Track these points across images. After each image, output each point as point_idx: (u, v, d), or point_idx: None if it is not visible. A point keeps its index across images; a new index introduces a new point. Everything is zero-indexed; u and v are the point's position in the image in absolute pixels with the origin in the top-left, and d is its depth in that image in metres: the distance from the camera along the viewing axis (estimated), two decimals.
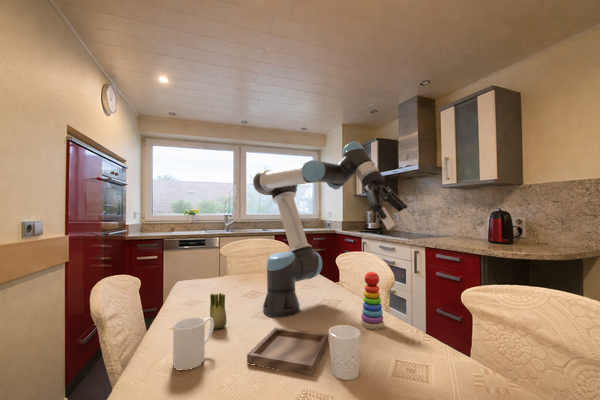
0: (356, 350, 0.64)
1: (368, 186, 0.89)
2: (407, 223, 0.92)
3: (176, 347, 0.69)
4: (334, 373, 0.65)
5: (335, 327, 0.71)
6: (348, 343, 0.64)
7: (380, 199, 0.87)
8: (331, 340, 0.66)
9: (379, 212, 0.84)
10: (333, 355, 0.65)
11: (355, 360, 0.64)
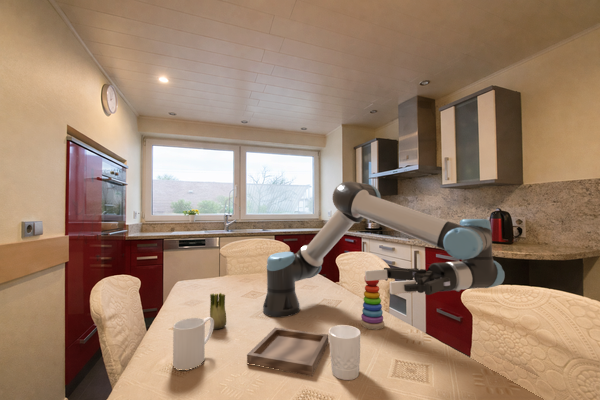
0: (356, 350, 0.64)
1: (448, 286, 0.66)
2: (371, 273, 0.77)
3: (176, 347, 0.69)
4: (334, 373, 0.65)
5: (335, 327, 0.71)
6: (348, 343, 0.64)
7: None
8: (331, 340, 0.66)
9: (415, 287, 0.63)
10: (333, 355, 0.65)
11: (355, 360, 0.64)
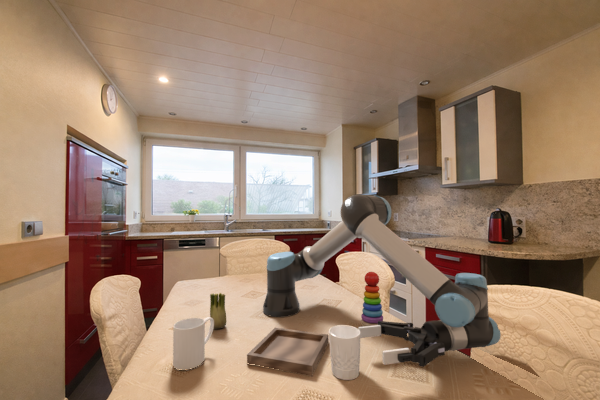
0: (356, 350, 0.64)
1: (442, 353, 0.65)
2: (364, 330, 0.75)
3: (176, 347, 0.69)
4: (334, 373, 0.65)
5: (335, 327, 0.71)
6: (348, 343, 0.64)
7: None
8: (331, 340, 0.66)
9: (408, 358, 0.61)
10: (333, 355, 0.65)
11: (355, 360, 0.64)
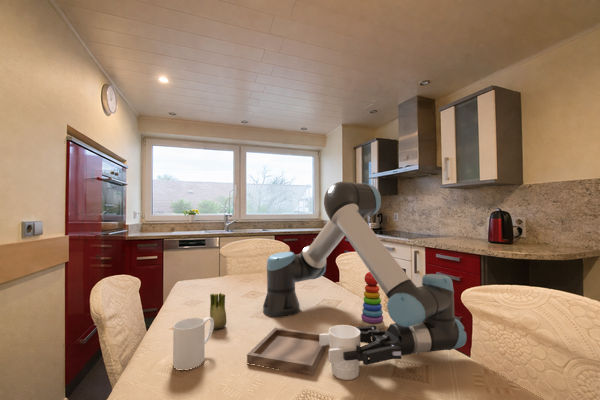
0: None
1: (397, 356, 0.63)
2: (325, 337, 0.70)
3: (176, 347, 0.69)
4: (334, 373, 0.65)
5: (335, 327, 0.71)
6: (348, 343, 0.64)
7: None
8: (331, 340, 0.66)
9: (354, 356, 0.62)
10: None
11: (355, 360, 0.64)
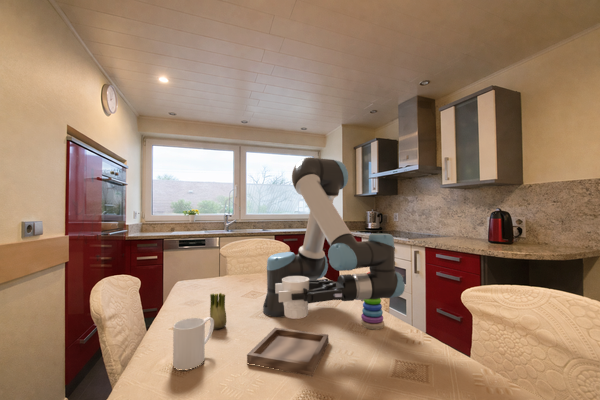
0: None
1: (338, 298, 0.72)
2: (281, 286, 0.80)
3: (176, 347, 0.69)
4: (285, 314, 0.75)
5: (289, 277, 0.80)
6: (296, 286, 0.73)
7: None
8: (283, 285, 0.75)
9: (300, 296, 0.71)
10: None
11: (303, 302, 0.74)
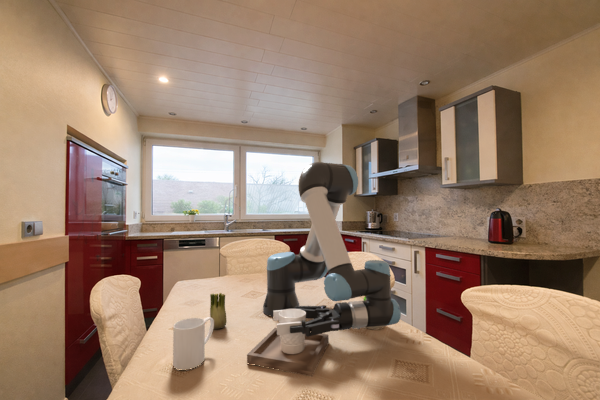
0: None
1: (335, 329, 0.73)
2: (278, 313, 0.81)
3: (176, 347, 0.69)
4: (282, 349, 0.75)
5: (286, 310, 0.81)
6: None
7: None
8: (279, 320, 0.76)
9: (298, 329, 0.71)
10: None
11: (299, 337, 0.74)
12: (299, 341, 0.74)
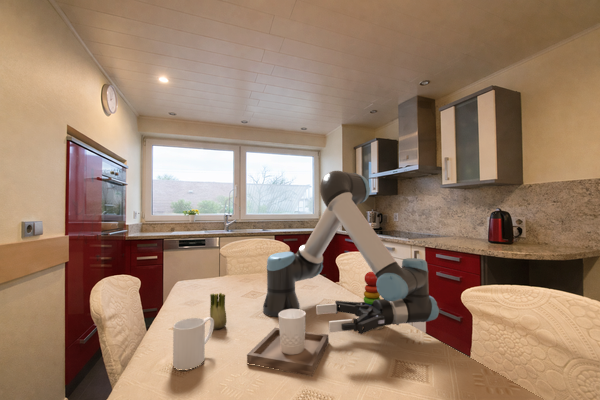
0: (300, 329, 0.74)
1: (382, 324, 0.75)
2: (321, 307, 0.86)
3: (176, 347, 0.69)
4: (282, 349, 0.75)
5: (286, 310, 0.81)
6: (293, 323, 0.74)
7: None
8: (279, 321, 0.76)
9: (350, 327, 0.72)
10: (281, 333, 0.75)
11: (299, 337, 0.74)
12: (299, 342, 0.74)
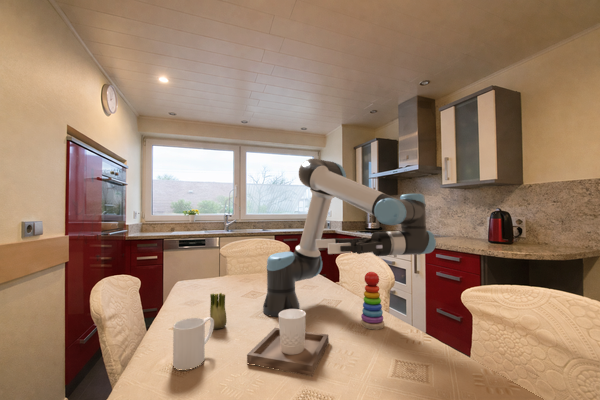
0: (300, 329, 0.74)
1: (380, 249, 0.77)
2: (320, 241, 0.87)
3: (176, 347, 0.69)
4: (282, 349, 0.75)
5: (286, 310, 0.81)
6: (293, 323, 0.74)
7: None
8: (279, 321, 0.76)
9: (349, 248, 0.73)
10: (281, 334, 0.75)
11: (299, 338, 0.74)
12: (299, 342, 0.74)
